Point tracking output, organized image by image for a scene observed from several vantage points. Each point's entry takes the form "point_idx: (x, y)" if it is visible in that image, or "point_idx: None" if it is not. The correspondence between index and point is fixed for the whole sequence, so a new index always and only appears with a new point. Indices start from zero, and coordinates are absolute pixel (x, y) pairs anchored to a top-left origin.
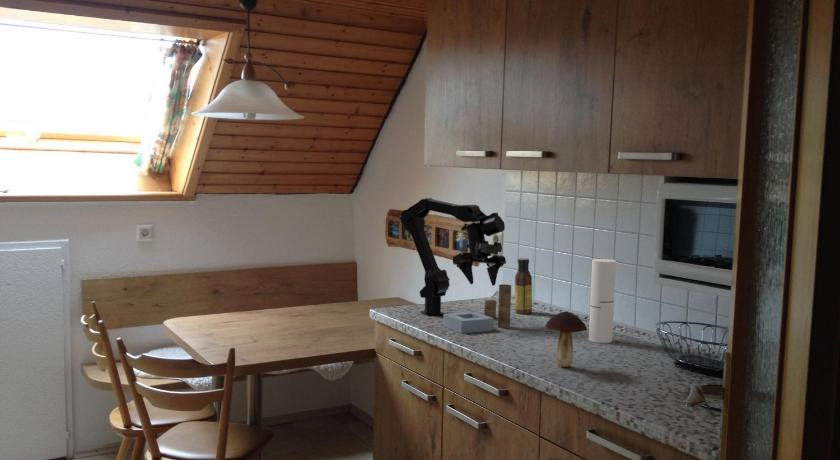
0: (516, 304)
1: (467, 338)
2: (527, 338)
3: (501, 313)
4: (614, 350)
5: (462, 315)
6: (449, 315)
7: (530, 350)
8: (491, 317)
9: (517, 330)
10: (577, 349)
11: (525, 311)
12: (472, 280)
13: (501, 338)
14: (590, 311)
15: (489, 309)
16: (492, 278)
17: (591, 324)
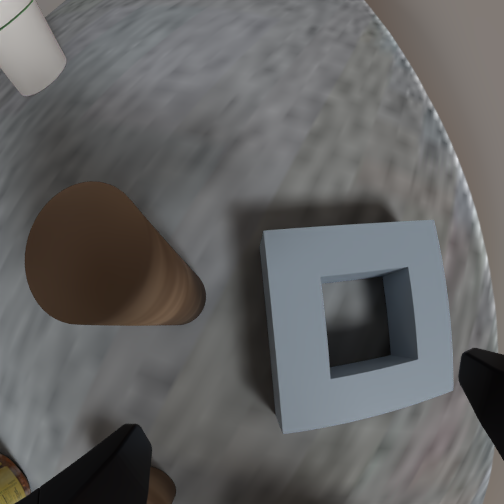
0: (15, 497)
1: (403, 164)
2: (198, 103)
3: (189, 268)
4: (95, 14)
5: (381, 367)
6: (445, 352)
7: (269, 22)
8: (152, 469)
9: (154, 219)
10: (154, 15)
11: (4, 460)
12: (491, 356)
13: (289, 124)
14: (30, 21)
15: (152, 491)
16: (117, 500)
17: (48, 38)
